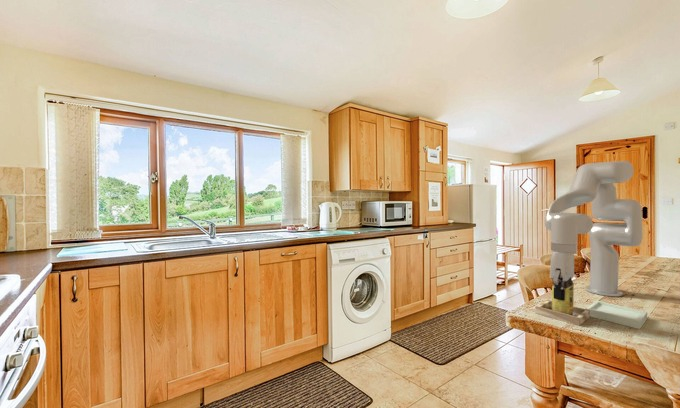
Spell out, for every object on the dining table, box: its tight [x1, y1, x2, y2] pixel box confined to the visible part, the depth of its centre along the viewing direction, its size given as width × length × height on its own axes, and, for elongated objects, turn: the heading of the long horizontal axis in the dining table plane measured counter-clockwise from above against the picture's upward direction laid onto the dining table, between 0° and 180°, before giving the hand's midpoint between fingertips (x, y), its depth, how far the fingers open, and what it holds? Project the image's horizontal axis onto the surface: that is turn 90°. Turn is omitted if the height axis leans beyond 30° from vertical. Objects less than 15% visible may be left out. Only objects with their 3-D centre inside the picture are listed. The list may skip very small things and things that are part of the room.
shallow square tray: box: [584, 300, 648, 330], centre depth 106 cm, size 14×14×2 cm
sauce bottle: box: [551, 277, 575, 316], centre depth 107 cm, size 7×6×20 cm
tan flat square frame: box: [534, 299, 590, 327], centre depth 107 cm, size 12×13×2 cm
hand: (562, 297), depth 107 cm, fingers open, 6 cm apart
